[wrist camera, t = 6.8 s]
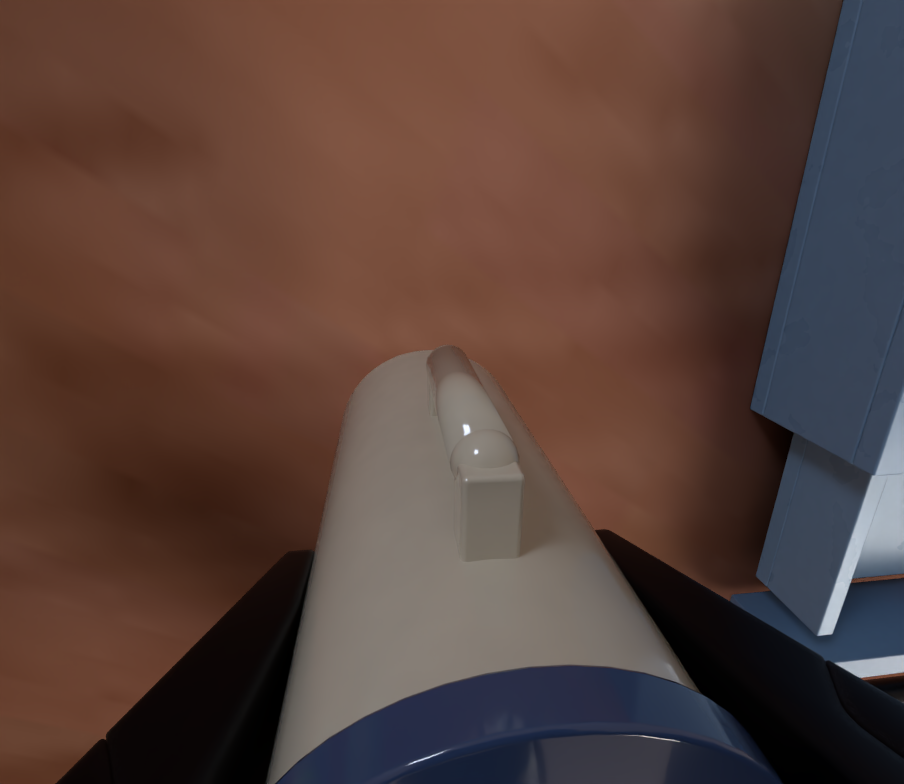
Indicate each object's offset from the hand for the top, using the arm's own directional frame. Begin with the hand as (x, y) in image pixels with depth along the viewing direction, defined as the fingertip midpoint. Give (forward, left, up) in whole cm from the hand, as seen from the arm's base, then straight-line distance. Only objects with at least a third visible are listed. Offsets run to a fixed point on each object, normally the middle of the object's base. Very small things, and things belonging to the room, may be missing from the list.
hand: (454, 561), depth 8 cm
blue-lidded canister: (0, 0, -5) cm, 5 cm away
